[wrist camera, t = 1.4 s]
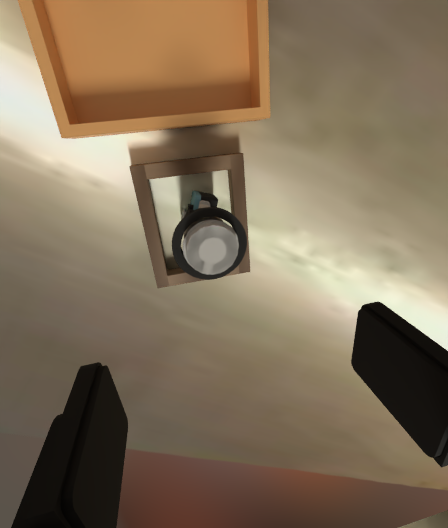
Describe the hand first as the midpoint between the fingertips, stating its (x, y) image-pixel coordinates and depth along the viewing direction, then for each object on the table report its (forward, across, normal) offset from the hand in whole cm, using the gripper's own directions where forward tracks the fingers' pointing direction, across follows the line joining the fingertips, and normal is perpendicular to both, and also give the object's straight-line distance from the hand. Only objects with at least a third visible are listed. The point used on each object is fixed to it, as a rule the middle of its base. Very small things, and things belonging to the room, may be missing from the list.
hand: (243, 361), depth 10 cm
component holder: (+19, 0, 0) cm, 19 cm away
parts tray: (+19, 0, -15) cm, 25 cm away
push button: (+20, 0, 0) cm, 20 cm away
